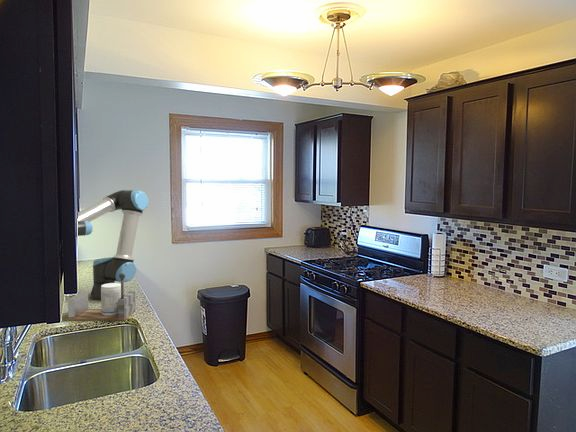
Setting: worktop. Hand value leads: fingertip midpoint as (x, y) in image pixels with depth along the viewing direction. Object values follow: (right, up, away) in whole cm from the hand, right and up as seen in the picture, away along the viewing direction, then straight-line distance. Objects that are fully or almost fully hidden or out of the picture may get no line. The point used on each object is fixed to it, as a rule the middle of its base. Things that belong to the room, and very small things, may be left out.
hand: (62, 296), depth 206 cm
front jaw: (+8, -9, +1) cm, 12 cm away
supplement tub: (+24, -9, +2) cm, 26 cm away
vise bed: (+19, -10, +2) cm, 22 cm away
